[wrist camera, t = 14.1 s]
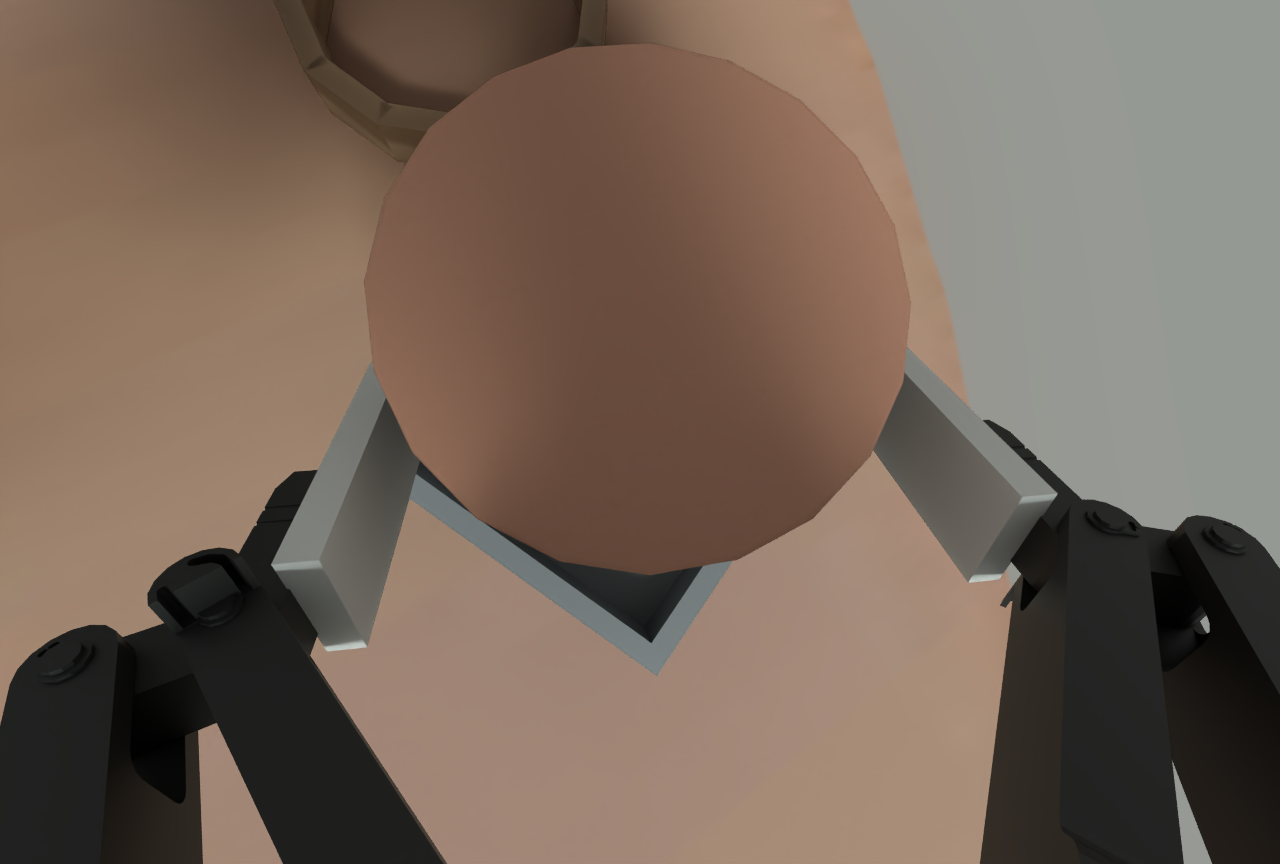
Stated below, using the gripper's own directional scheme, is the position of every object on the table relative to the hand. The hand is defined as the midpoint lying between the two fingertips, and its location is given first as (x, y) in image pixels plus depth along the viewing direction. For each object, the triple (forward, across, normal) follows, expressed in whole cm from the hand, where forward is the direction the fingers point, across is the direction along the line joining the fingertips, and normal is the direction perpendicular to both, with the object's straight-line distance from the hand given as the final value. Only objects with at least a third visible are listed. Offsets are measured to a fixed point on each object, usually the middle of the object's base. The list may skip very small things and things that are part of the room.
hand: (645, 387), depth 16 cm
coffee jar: (+10, 0, -8) cm, 13 cm away
